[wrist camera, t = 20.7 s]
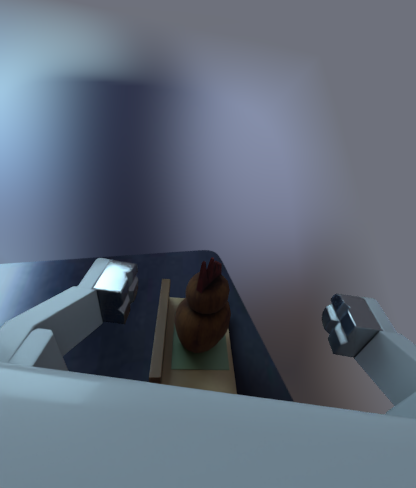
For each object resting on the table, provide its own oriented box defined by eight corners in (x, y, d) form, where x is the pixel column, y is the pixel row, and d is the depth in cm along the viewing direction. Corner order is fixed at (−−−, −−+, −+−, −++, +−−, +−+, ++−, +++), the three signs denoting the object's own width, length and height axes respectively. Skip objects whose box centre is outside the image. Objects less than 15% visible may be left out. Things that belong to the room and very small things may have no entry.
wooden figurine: (186, 369, 30) (200, 282, 21) (166, 331, 34) (171, 244, 25) (231, 345, 33) (259, 261, 24) (208, 313, 37) (226, 230, 28)
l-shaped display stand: (221, 311, 41) (229, 282, 37) (232, 405, 30) (245, 378, 26) (161, 309, 40) (162, 278, 36) (149, 405, 29) (149, 377, 25)
